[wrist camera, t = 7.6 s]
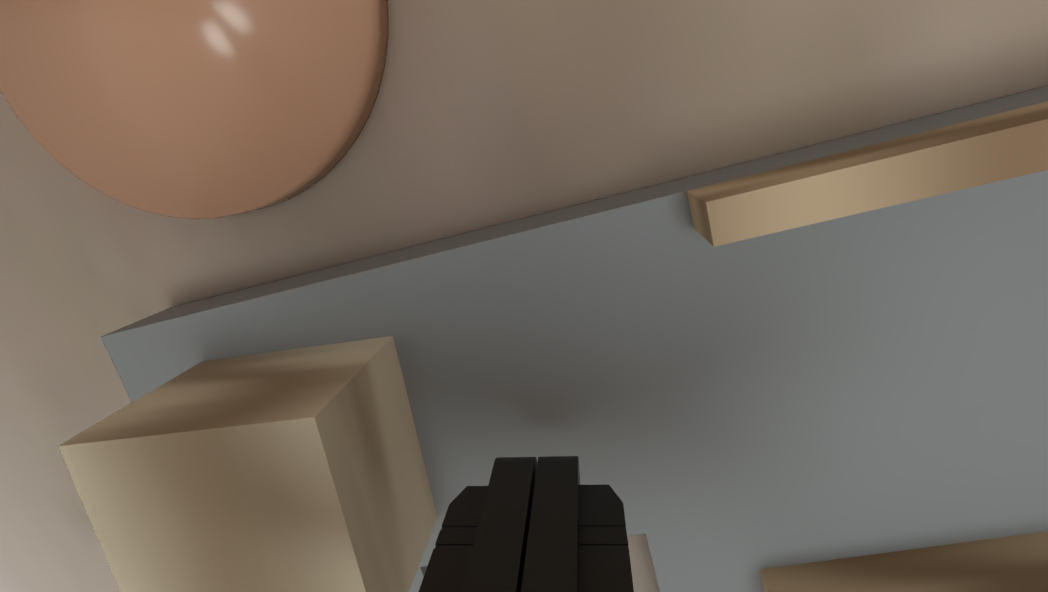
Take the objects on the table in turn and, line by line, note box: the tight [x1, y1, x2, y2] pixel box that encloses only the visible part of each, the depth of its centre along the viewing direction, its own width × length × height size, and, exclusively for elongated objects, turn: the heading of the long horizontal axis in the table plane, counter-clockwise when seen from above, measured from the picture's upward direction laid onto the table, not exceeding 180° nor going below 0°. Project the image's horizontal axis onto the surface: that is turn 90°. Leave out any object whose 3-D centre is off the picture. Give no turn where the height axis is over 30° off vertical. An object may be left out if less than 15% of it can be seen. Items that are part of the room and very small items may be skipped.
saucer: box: [0, 0, 388, 219], centre depth 14 cm, size 10×10×1 cm
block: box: [58, 336, 438, 592], centre depth 12 cm, size 5×5×4 cm
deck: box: [101, 86, 1048, 592], centre depth 15 cm, size 25×15×2 cm, turn 105°
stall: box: [687, 101, 1048, 592], centre depth 11 cm, size 10×10×2 cm
